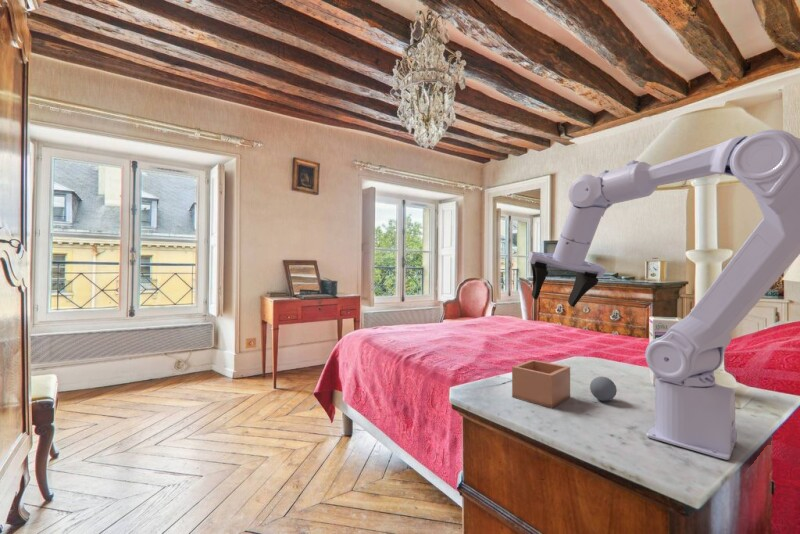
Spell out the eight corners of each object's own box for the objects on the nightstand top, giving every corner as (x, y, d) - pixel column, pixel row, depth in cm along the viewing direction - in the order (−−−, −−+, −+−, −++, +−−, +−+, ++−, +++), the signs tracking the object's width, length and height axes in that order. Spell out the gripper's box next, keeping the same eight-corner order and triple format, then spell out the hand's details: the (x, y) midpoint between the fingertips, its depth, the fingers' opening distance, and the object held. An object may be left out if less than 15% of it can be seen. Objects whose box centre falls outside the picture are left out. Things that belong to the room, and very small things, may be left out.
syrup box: (652, 386, 80) (652, 318, 80) (649, 378, 85) (649, 315, 85) (685, 390, 77) (685, 320, 77) (680, 382, 82) (680, 316, 82)
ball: (620, 400, 72) (620, 377, 72) (611, 406, 69) (611, 382, 69) (595, 394, 75) (595, 372, 75) (586, 400, 72) (586, 376, 72)
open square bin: (570, 397, 73) (570, 367, 73) (551, 408, 68) (551, 375, 68) (532, 387, 79) (532, 359, 79) (512, 397, 74) (512, 366, 74)
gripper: (604, 240, 76) (580, 299, 81) (533, 226, 76) (514, 285, 81) (619, 251, 69) (593, 315, 74) (542, 235, 70) (520, 300, 75)
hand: (552, 300), depth 77 cm, fingers open, 7 cm apart
